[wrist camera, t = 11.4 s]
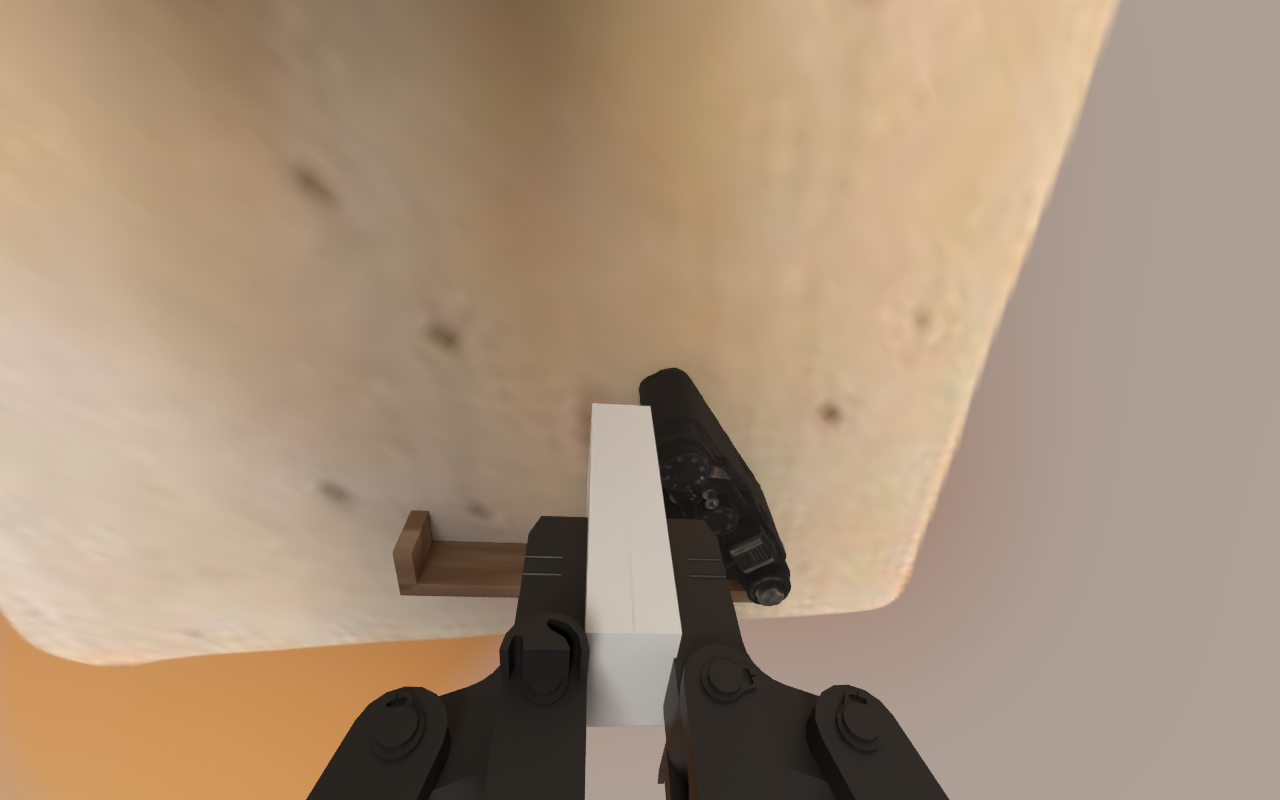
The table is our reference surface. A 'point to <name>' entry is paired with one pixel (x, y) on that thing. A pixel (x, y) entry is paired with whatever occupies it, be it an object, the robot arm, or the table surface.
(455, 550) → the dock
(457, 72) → the table surface
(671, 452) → the camera
